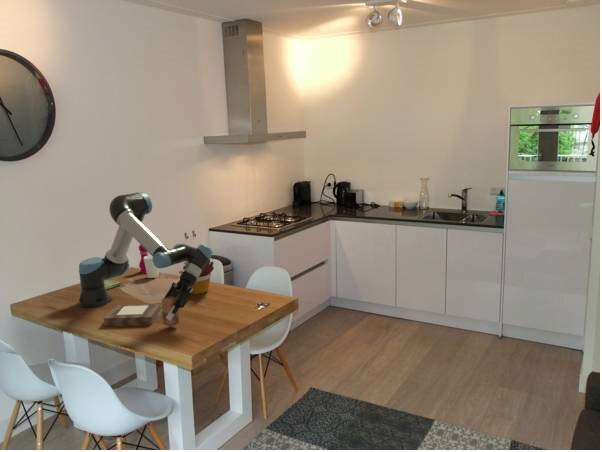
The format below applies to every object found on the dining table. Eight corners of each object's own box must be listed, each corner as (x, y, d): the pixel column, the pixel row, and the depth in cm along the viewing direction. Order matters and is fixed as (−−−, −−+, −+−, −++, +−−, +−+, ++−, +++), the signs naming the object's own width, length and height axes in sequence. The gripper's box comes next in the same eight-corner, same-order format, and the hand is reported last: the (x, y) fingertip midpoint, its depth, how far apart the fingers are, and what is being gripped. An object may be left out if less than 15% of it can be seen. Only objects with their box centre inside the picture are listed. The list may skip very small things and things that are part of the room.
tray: (104, 326, 247) (103, 317, 246) (116, 312, 264) (115, 304, 264) (151, 324, 247) (151, 316, 246) (160, 311, 265) (160, 303, 264)
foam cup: (146, 280, 319) (145, 259, 317) (143, 276, 327) (142, 256, 325) (162, 278, 323) (161, 257, 321) (159, 274, 332) (157, 254, 329)
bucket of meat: (174, 293, 294) (172, 258, 290) (195, 285, 308) (193, 252, 304) (202, 298, 284) (200, 262, 280) (221, 290, 298) (220, 255, 294)
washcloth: (105, 291, 301) (105, 286, 300) (84, 288, 309) (83, 282, 308) (123, 285, 312) (122, 280, 311) (101, 281, 320) (101, 276, 319)
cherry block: (170, 326, 240) (168, 301, 237) (163, 323, 243) (161, 299, 240) (179, 323, 244) (177, 298, 241) (172, 320, 247) (170, 296, 244)
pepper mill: (141, 270, 341) (138, 240, 337) (152, 270, 342) (150, 240, 338) (138, 273, 334) (136, 243, 330) (150, 273, 335) (147, 242, 331)
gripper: (207, 282, 246) (181, 326, 237) (182, 275, 257) (157, 317, 248) (198, 273, 241) (171, 318, 231) (173, 267, 252) (146, 310, 243)
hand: (164, 318), depth 240 cm, fingers closed on cherry block, 5 cm apart
